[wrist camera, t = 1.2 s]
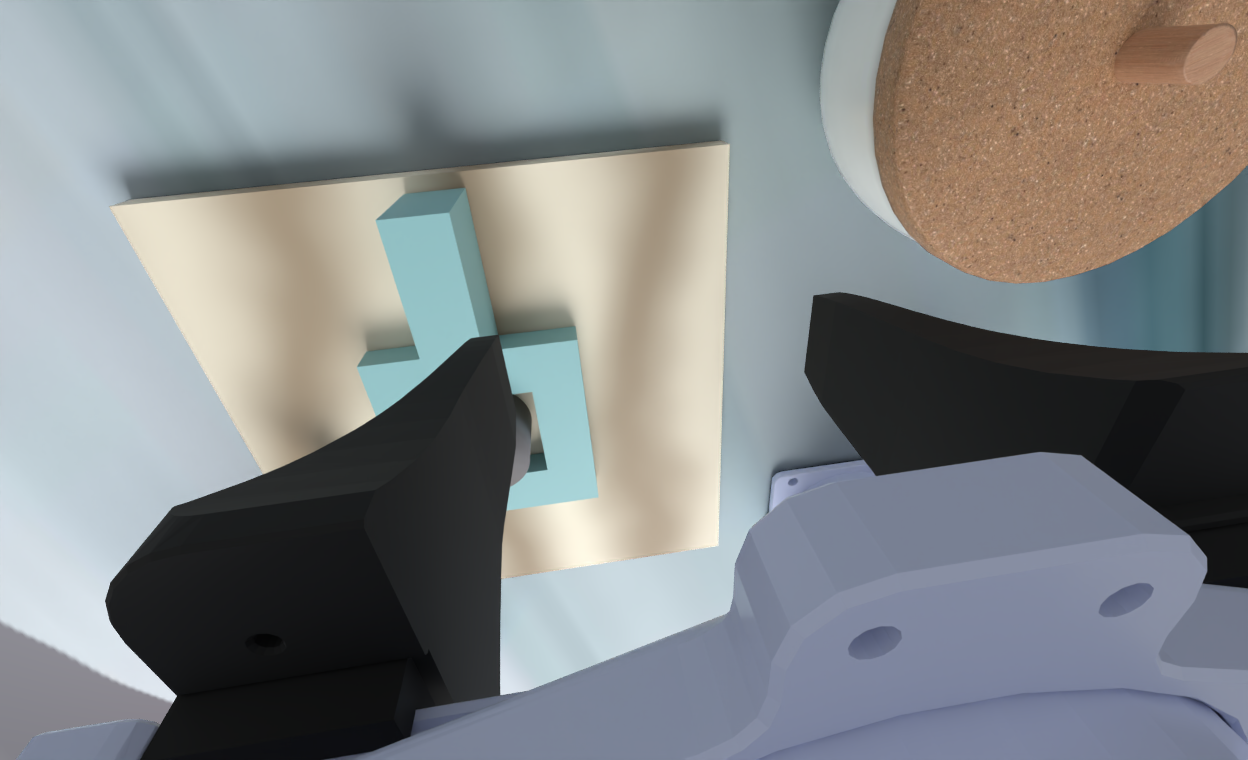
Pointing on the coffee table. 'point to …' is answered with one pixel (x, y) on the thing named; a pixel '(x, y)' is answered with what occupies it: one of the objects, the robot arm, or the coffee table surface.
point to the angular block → (461, 309)
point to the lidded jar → (1036, 123)
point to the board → (521, 301)
